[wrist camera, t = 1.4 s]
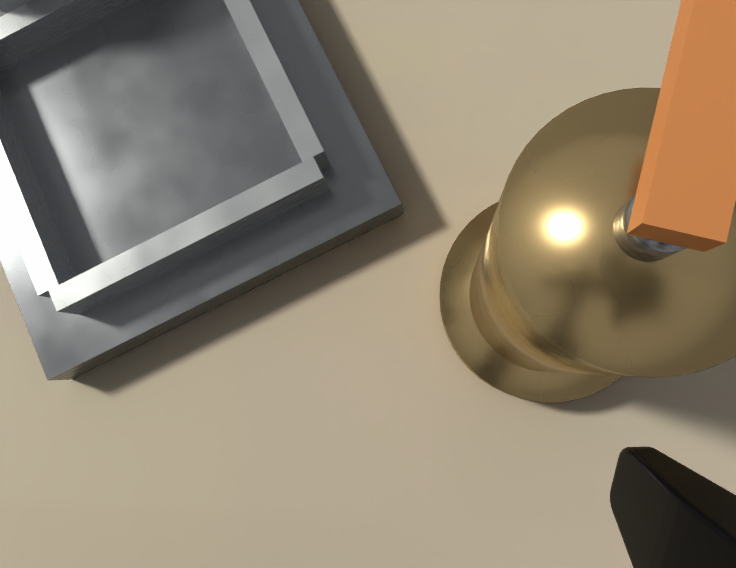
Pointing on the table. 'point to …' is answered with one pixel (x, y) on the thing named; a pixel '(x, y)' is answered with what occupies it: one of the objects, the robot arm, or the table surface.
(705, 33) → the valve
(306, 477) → the table surface
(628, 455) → the robot arm
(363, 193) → the socket plate
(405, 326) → the table surface
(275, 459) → the table surface
